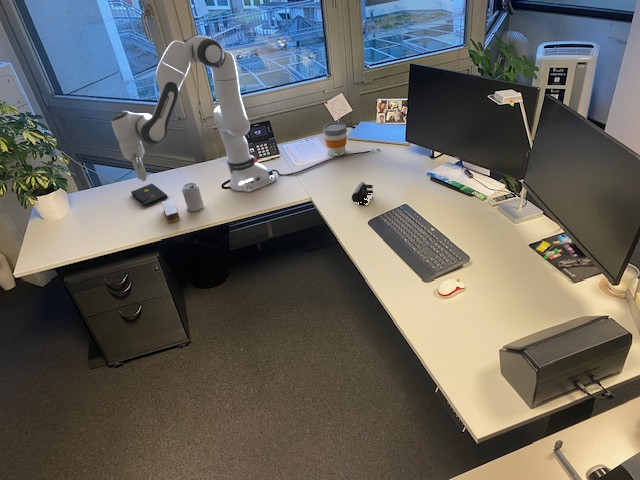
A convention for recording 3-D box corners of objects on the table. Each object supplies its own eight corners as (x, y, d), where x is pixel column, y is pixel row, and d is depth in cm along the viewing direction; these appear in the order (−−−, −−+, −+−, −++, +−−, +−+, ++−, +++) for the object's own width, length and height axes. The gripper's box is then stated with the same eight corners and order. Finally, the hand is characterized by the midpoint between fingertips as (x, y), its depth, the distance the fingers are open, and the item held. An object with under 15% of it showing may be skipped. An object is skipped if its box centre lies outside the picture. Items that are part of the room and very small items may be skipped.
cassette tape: (131, 195, 235) (130, 191, 234) (153, 186, 241) (151, 182, 239) (145, 207, 223) (144, 203, 222) (167, 198, 229) (166, 194, 228)
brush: (174, 207, 221) (171, 199, 218) (180, 220, 210) (177, 212, 208) (163, 210, 220) (161, 202, 217) (169, 224, 209) (166, 215, 206)
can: (200, 212, 215) (193, 189, 208) (185, 211, 216) (178, 189, 209) (206, 203, 221) (200, 181, 214) (192, 203, 222) (185, 181, 215)
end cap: (358, 194, 215) (357, 181, 211) (373, 195, 213) (372, 182, 209) (351, 205, 208) (351, 191, 204) (367, 206, 205) (366, 193, 201)
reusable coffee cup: (337, 145, 261) (335, 120, 252) (352, 151, 253) (351, 125, 244) (320, 153, 255) (318, 127, 246) (335, 159, 247) (333, 133, 238)
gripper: (144, 157, 187) (154, 187, 195) (137, 140, 203) (147, 169, 211) (128, 161, 185) (139, 191, 194) (122, 144, 201) (133, 173, 209)
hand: (143, 179), depth 202 cm, fingers closed
